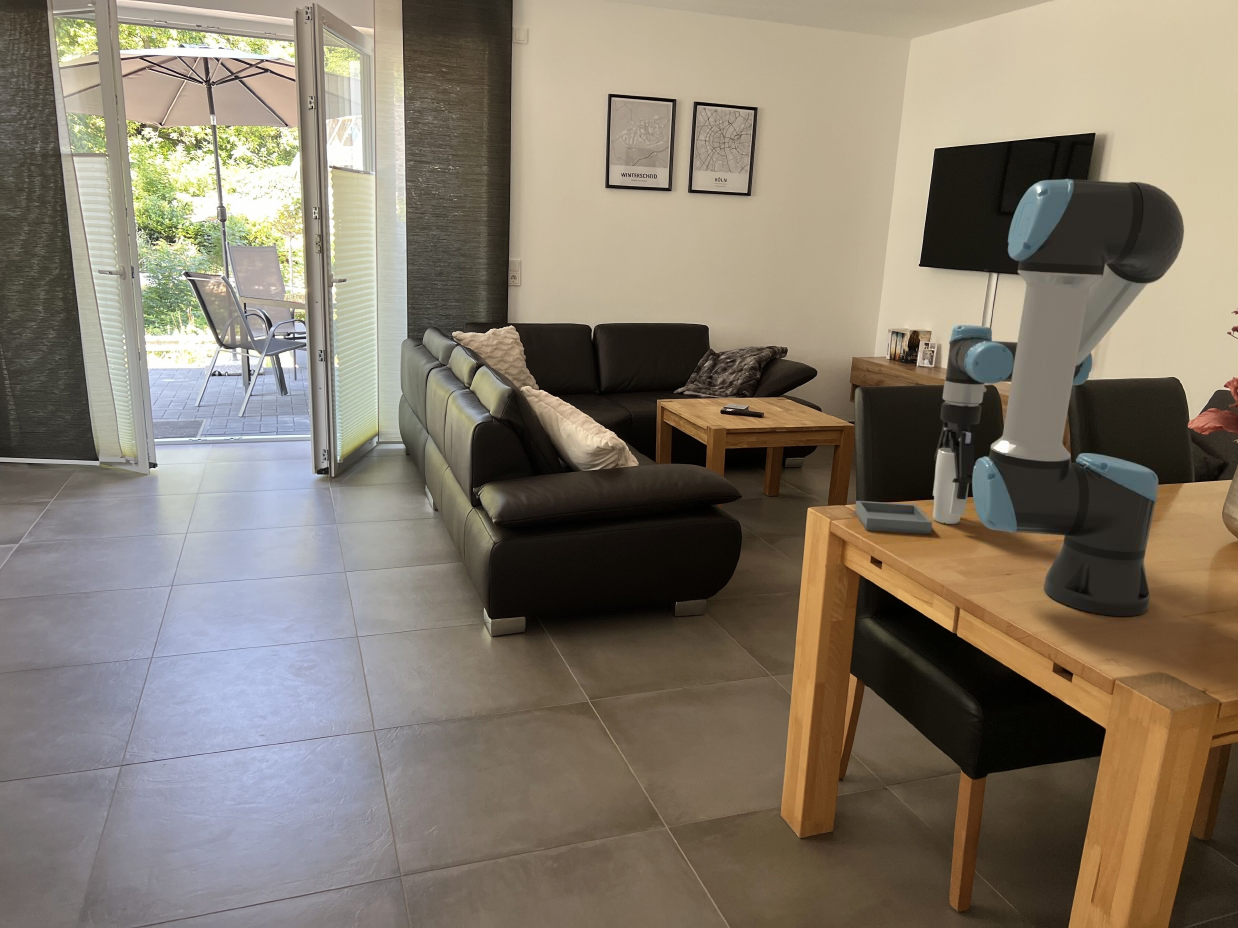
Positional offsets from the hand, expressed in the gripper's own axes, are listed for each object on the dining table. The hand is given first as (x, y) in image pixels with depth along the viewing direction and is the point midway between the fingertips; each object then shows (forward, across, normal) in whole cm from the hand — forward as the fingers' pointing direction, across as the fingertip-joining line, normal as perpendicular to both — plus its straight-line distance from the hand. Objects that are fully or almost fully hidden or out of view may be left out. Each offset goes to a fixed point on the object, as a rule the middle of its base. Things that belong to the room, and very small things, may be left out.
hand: (948, 504), depth 183 cm
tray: (+4, -4, +12) cm, 13 cm away
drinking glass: (+4, 0, 0) cm, 4 cm away
